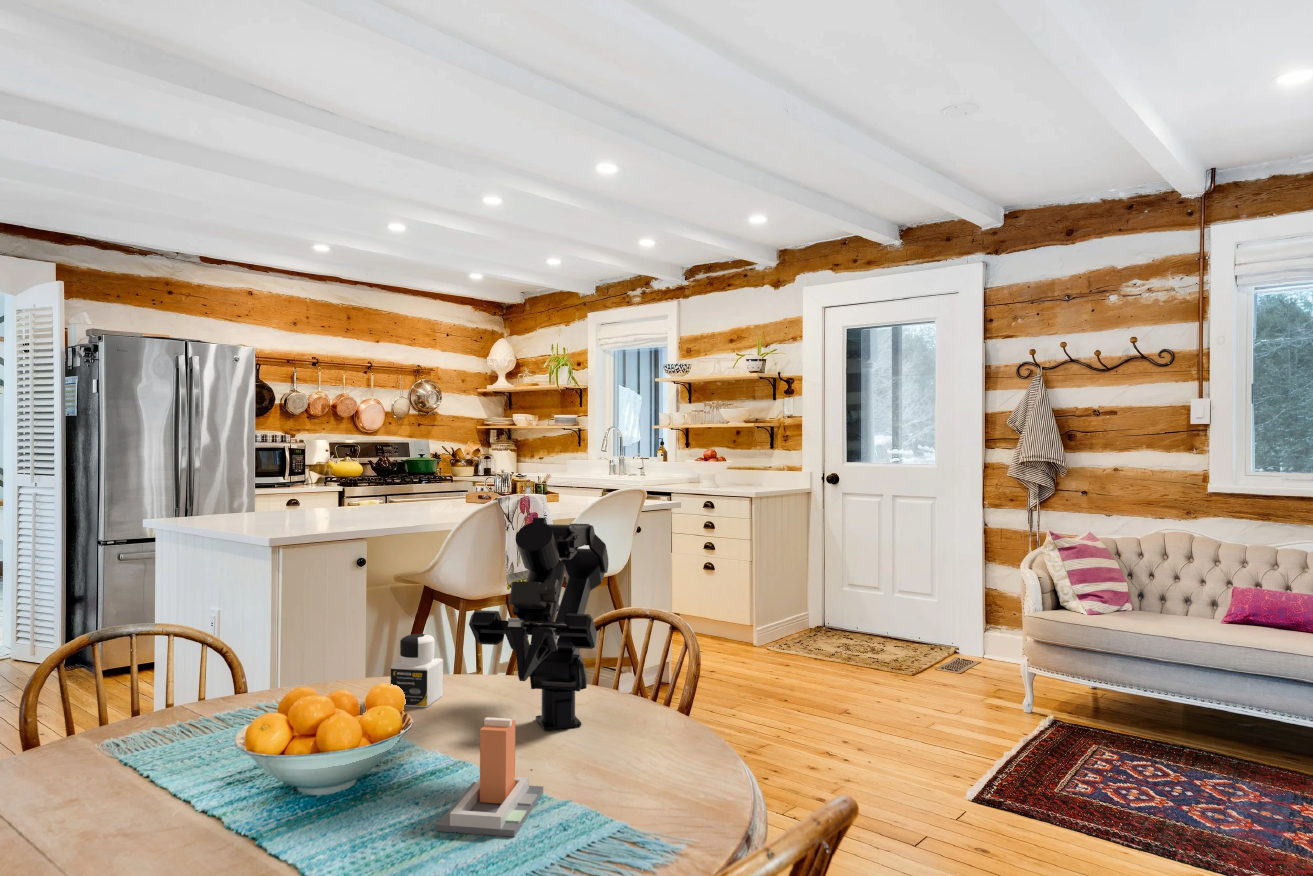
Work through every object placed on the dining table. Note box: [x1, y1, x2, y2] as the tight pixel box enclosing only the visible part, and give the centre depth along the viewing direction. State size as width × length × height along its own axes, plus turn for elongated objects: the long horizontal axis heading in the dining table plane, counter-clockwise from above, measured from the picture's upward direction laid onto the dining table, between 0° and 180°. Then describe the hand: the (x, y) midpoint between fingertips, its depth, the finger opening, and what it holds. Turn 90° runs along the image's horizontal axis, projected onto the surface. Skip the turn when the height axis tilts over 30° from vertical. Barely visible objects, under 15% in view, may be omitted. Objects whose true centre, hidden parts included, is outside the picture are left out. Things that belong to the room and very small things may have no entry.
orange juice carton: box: [479, 716, 516, 804], centre depth 112 cm, size 4×4×10 cm
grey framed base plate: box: [435, 776, 544, 838], centre depth 110 cm, size 13×10×2 cm
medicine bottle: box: [390, 633, 444, 709], centre depth 155 cm, size 7×7×12 cm
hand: (521, 679), depth 122 cm, fingers closed
